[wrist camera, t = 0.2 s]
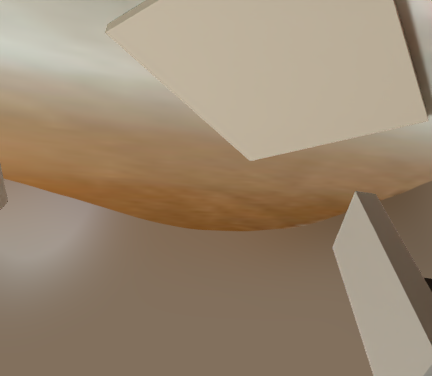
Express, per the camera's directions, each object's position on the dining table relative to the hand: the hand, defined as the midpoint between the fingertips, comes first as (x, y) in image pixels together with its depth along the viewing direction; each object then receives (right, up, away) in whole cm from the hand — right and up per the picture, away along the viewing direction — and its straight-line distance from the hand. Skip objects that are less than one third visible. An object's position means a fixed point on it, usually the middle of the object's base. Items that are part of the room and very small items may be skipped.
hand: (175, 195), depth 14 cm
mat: (+7, +9, +15) cm, 18 cm away
